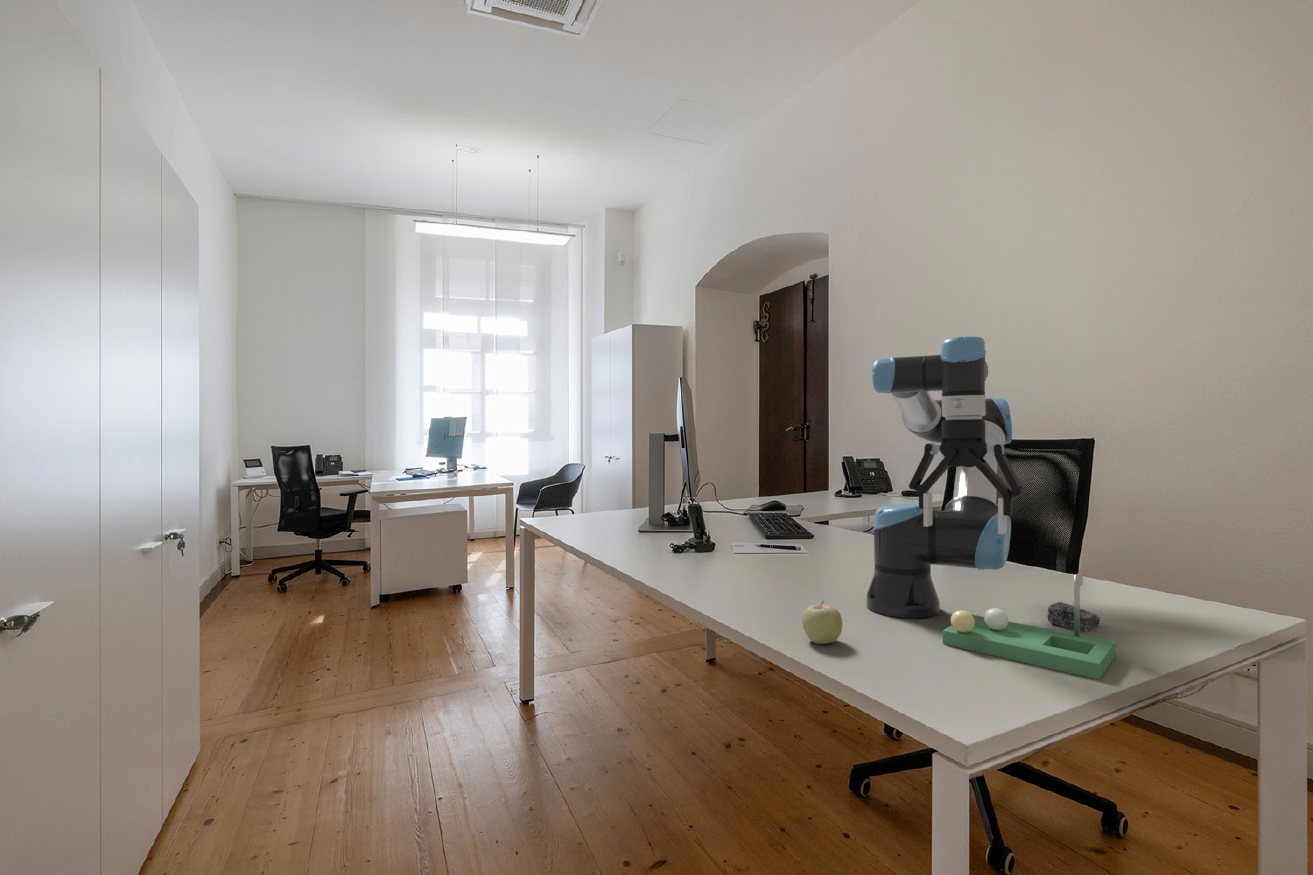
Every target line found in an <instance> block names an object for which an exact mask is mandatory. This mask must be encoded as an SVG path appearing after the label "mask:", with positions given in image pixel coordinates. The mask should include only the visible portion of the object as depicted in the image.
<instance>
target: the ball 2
mask: <svg viewBox="0 0 1313 875" xmlns="http://www.w3.org/2000/svg"><path fill="white" fill-rule="evenodd" d="M983 617H984V621H985V623H986V625H987V626H988V627H989V628H991V629H993V630H1003V629H1004V628H1006V627H1007V625H1008V621H1009V617H1008V615H1007V613H1006V612H1005V611H1004V610H1002V609H1000V608H996V607H992V608H989V609H988V610H986V611H985V612H984V615H983Z"/></svg>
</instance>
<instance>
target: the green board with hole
mask: <svg viewBox="0 0 1313 875" xmlns="http://www.w3.org/2000/svg"><path fill="white" fill-rule="evenodd" d="M970 614H971V615H972V616H973V617H974V620H975V626H974V628H973V629H972V630H971V631H970V632H967V633H962V632H959V631H957V630H956V629H954V627H953V626H952V624H951V625H950V626H948V627H946V628H945V629H943V630H942V645H946V646H950V647H955V648H958V649H959V648H960V649H964V650H968V651H972V652H977V653H981V654H986V655H989V656H994V657H999V658H1001V659H1002V658H1003V659H1007V660H1011V661H1016V662H1021V663H1024V664H1025V663H1026V664H1028V665H1034V666H1037V667H1042V668H1047V669H1051V670H1056V671H1060V672H1064V673H1068V674H1073V675H1078V676H1080V677H1087V678H1091V679H1094V680H1099V681H1100V679H1101V678H1102V677H1103V675H1104V673H1105V672H1106V670H1107V669H1108V668H1109V667H1110V664H1112V662H1113V661H1114V659H1115V657H1116V651H1117V650H1116V641H1113V640H1108V639H1102V638H1097V637H1092V636H1087V635H1081V634H1080V636H1079V637H1077V636H1074V633H1071V632H1066V631H1060V630H1056V629H1049V628H1045V627H1041V626H1040V627H1039V626H1034V625H1029V624H1024V623H1019V622H1018V623H1017V622H1013V621H1009V620H1008V625H1007V627H1006V628H1004V629H1003V630H993V629H991V628H989V627H988V626H987V625H986V623H985V621H984V616H982V615H977V614H976V615H975V614H972V613H970Z"/></svg>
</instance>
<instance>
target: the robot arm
mask: <svg viewBox="0 0 1313 875" xmlns="http://www.w3.org/2000/svg"><path fill="white" fill-rule="evenodd" d="M985 344H986V342H985V339H984V338H983V337H980V336H975V335H974V336H958V337H957V336H956V337H951V338H946V339H945V340H944V341H942V344H941V354H932V355H931V354H930V355H917V356H915V355H913V356H899V357H898V356H895V357H894V356H891V357H887V358H885V357H884V358H879V359H876V360H875V362H873V364H872V371H871V374H872V375H871V379H872V380H871V381H872V387H873V390H874V391H875V392H876V393H878V394H879V393H881V394H891V396H892V397H893V399H894V400H895V402H896V405H897V406H898V407H899V409H900V411H901V417H900V418H901V420H902V423H903V425H904V426H905V428H906V429H907V430H908V431H909V432H911V433H912V434H914V435H915V436H916V437H919V438H920V439H923V440H925V441H928V442H931V443H925V445H924V450H923V455H922V458H921V460H920V462H919V464H918V465H917V468H916V470H915V472H914V474H913V476H912V478H911V480H910V482H909V484H908V489H910V490H914V491H916V492H917V493H918V502H909V503H908V502H905V503H897V504H896V503H895V504H891V505H890V504H889V505H885V506H881V507H879V508H877V509H876V511H875V513H874V520H873V522H874V523H873V528H872V530H873V544H874V545H873V549H874V552H873V553H874V554H873V555H874V556H873V557H874V558H873V559H874V561H873V562H874V573H873V575H872V579H871V582H870V585H869V586H868V591H867V594H866V607H867V608H868V609H870V610H871V611H873V612H875V613H878V614H881V615H884V616H888V617H889V616H890V617H896V618H903V619H904V618H906V619H924V618H925V619H926V618H931V617H935V616H937V615H939V614H940V610H941V608H940V607H941V606H940V605H941V604H940V599H939V597H938V596H939V595H938V593H937V590H936V588H935V585H934V581H933V578H932V573H931V569H932V568H931V565H936V566H944V567H945V566H949V567H958V568H969V569H977V570H980V571H981V570H983V571H985V570H992V571H993V570H995V571H996V570H1000V569H1002V568H1003V567H1004V566H1005V565H1006V563H1007V560H1008V556H1009V552H1010V540H1011V535H1012V533H1011V532H1012V521H1011V516H1012V515H1013V511H1014V510H1013V509H1014V502H1013V499H1014V498H1015V497H1018V496H1021V495H1024V493H1025V489H1024V487H1023V485H1022V484H1021V481H1020V480H1019V477H1018V476H1017V474H1016V472H1015V470H1014V469H1013V467H1012V465H1011V463H1010V461H1009V460H1008V457H1007V456H1006V455H1007V454H1006V448H1005V445H1006V444H1010V443H1011V442H1012V439H1013V424H1012V418H1011V409H1010V404H1009V403H1008V401H1007V400H1006V399H1004V398H993V397H987V398H986V389H985V388H986V380H987V378H988V377H989V367H988V364H987V361H986V356H987V355H986V354H987V351H986V345H985ZM938 391H939V392H940V391H941V399H933V397H932V396H931V393H930V392H938ZM935 443H936V444H935ZM939 452H940V453H941V454H942V456H943V457H944V458H943V459H942V460H940V462H939V463H938V464H937V466H936V468H935V469H934V470H933V471H932V472H931V473H930V474H929V476H928V477H927V478H926V479H924V477H925V476H926V473H927V472H928V469H929V468H930V466H931V463H932V462H933V460H934V457H935V455H938V453H939ZM951 467H953V468H956V471H955V477H954V478H955V479H954V486H953V487H954V489H953V496H952V499H951V500H950V501H949V502H947V503H946V505H945V507H944V510H933V492H929V491H930V489H931V488H932V487H933V486H934V485H935V483H936V482H938V480H939V479H940V478H941V477H942V476H943V475H944V474H945V472H946V471H947V470H948V469H949V468H951ZM998 467H999V469H1000V470H1001V472H1002V475H1003V477H1004V478H1005V479H1006V481H1007V483H1008V485H1007V484H1006V483H1005V482H1004V481H1003V480H1002V478H1001V477H1000V476H999V475H998ZM923 480H924V481H923ZM997 492H998V493H999V494H1000V495H1001V497H998V498H997Z"/></svg>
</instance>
